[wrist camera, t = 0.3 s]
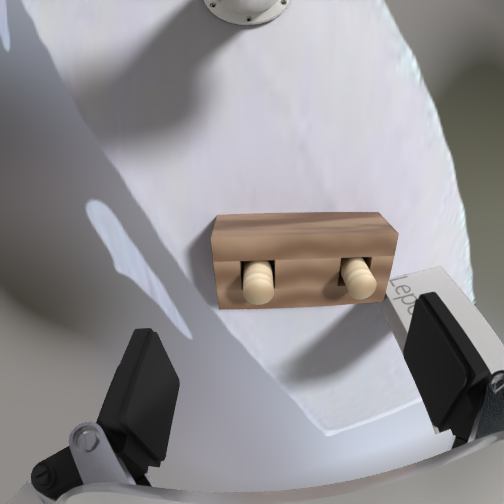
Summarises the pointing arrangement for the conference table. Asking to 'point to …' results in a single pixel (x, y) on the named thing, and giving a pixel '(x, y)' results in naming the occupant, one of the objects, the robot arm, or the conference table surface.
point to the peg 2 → (357, 277)
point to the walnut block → (301, 255)
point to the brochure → (470, 319)
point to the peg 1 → (258, 282)
